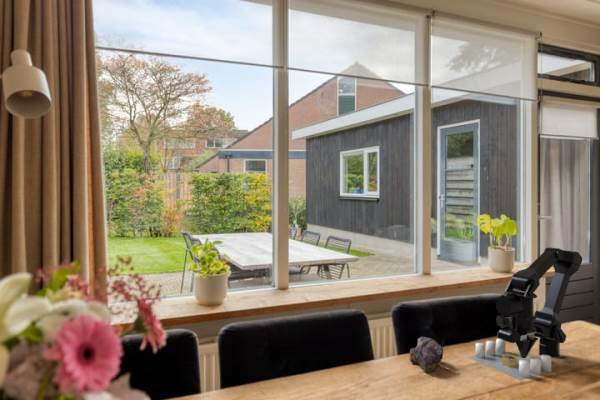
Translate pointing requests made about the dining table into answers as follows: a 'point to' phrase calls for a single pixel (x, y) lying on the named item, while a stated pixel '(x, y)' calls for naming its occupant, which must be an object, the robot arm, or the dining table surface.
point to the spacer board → (524, 366)
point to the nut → (510, 360)
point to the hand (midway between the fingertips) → (523, 357)
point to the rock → (426, 354)
